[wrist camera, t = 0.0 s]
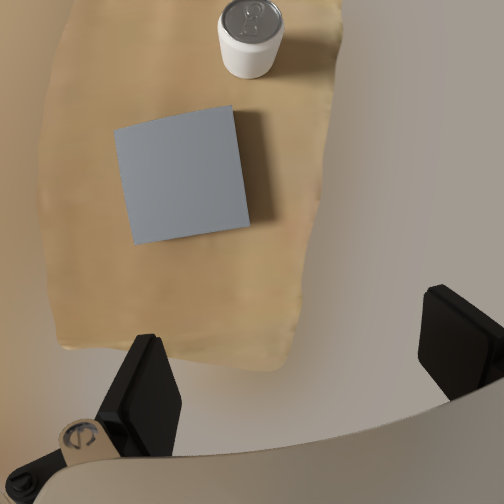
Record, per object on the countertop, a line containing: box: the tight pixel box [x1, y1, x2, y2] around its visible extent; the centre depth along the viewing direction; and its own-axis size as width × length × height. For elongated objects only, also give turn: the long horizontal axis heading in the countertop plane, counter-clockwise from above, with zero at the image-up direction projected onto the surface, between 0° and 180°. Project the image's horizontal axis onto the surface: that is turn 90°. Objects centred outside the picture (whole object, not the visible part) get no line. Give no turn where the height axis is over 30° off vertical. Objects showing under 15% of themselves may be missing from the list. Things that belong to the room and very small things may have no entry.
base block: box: [114, 105, 250, 245], centre depth 37 cm, size 14×14×4 cm
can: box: [218, 0, 284, 79], centre depth 29 cm, size 6×6×12 cm
